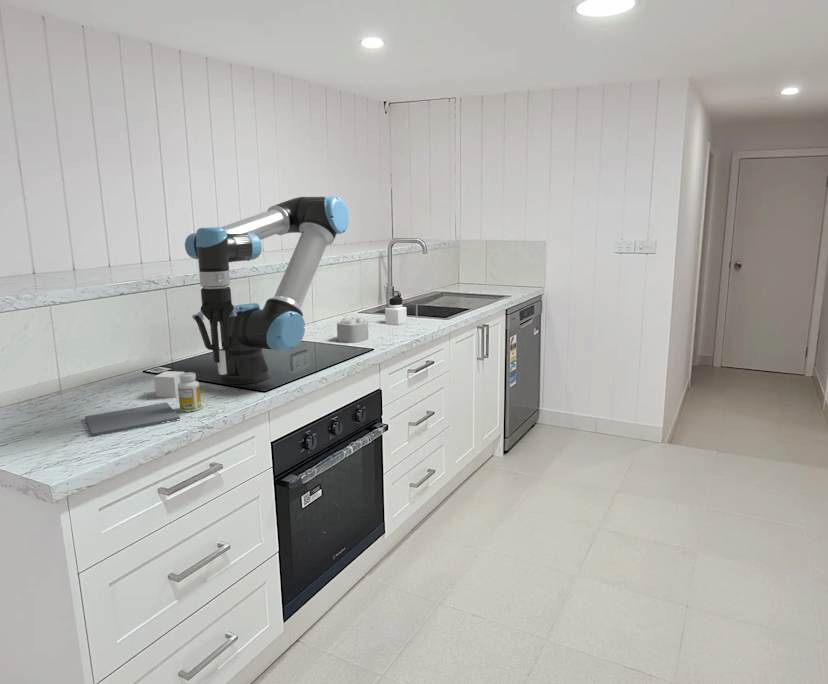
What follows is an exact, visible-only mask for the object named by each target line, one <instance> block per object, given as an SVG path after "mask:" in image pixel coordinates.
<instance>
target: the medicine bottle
mask: <svg viewBox="0 0 828 684" xmlns="http://www.w3.org/2000/svg"><path fill="white" fill-rule="evenodd" d="M388 306H389V307H385V309H384V315H385V316H384V322H385V325H394V326H400V325H403V324H406V323H408V322H407V318H408V317H407V316H408V315H407V314H408V313H407V307H406V306H403V297H402V296H391V297H389V298H388Z"/></svg>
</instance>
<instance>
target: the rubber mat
mask: <svg viewBox="0 0 828 684" xmlns="http://www.w3.org/2000/svg"><path fill="white" fill-rule="evenodd" d="M84 419H85V422H86V424H87V427H88V428H89V429H88V430H89V431H90V434H91V436H92V437H97V435H99V436H102V435H101V434H104V435H107V434H106V433H109V434H113V433H112V432H115V433H118V432H117V431H120V432H123V430H125V431H129V430H128V429H131V430H133V429H132V428H136V429H140V428H139V427H141V428H144V427H143V426H147V425H152V424H157V423H162V422H167V421H173V420H177V419H180V420H181V417H180V415H179V414H178V413H177V412H176V411H175V410H174V409H173V407H172V406H171V405H170V404H169V403H168V402H167V401H166V402H161V403H154V404H149V405H144V406H138V407H137V406H136V407H131V408H126V409H121V410H115V411H108V412H102V413H97V414H91V415H90V414H89V415H85V416H84ZM173 422H174V421H173ZM162 424H163V423H162ZM157 425H158V424H157ZM152 426H153V425H152ZM147 427H148V426H147Z"/></svg>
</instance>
